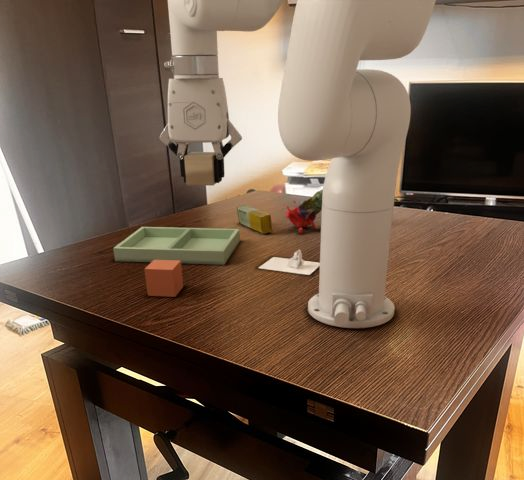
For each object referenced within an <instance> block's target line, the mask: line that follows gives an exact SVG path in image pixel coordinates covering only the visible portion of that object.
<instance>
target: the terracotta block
mask: <svg viewBox="0 0 524 480" xmlns="http://www.w3.org/2000/svg"><path fill="white" fill-rule="evenodd" d="M182 269H183V268H182V263H181V261H179V260H153V261H152V262H149V264H148V265H147V266H145V268H144V275H145V282H146V283H145V284H146V292H147V296H148V297H168V298H175V297H177V296H178V294H179V293H180V292H181V290H182V289H183V288H184V282H183V281H184V280H183V270H182Z"/></svg>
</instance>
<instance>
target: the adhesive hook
mask: <svg viewBox="0 0 524 480" xmlns="http://www.w3.org/2000/svg"><path fill="white" fill-rule="evenodd" d="M288 259H289V260H288V261H287V264H286V266H287V267H289V268H294V269H297V268H299V267H302V266H304V265H305V261H306V260H304V259H303V253H302V250H301V249H298V250H296V251H295V252H294V253H293V256H292V257H290V258H288Z"/></svg>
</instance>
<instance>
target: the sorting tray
mask: <svg viewBox="0 0 524 480" xmlns="http://www.w3.org/2000/svg"><path fill="white" fill-rule="evenodd" d="M240 231H241V229H240V228H218V227H217V228H214V227H211V228H210V227H170V226H169V227H167V226H140V228H138V229H137V230H136V231H134V232H133V233H131V234H130V235H129V236H128V237H126V238H125V239H124V240H122V241H121V242H119V243H118V244H116V245H115V246H114V247H113V255H114V256H113V257H114V261H115V262H126V263H127V262H129V263H131V262H132V263H151V262H152V261H153V260H179V261H181V264H188V265H191V264H192V265H193V264H195V265H222V266H225V265H226V263H227V261H228V260H229V258H230V257H231V255H232V254H233V252H234V251H235V249H236V248H237V247H238V245H239V243H240V242H241V232H240Z"/></svg>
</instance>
